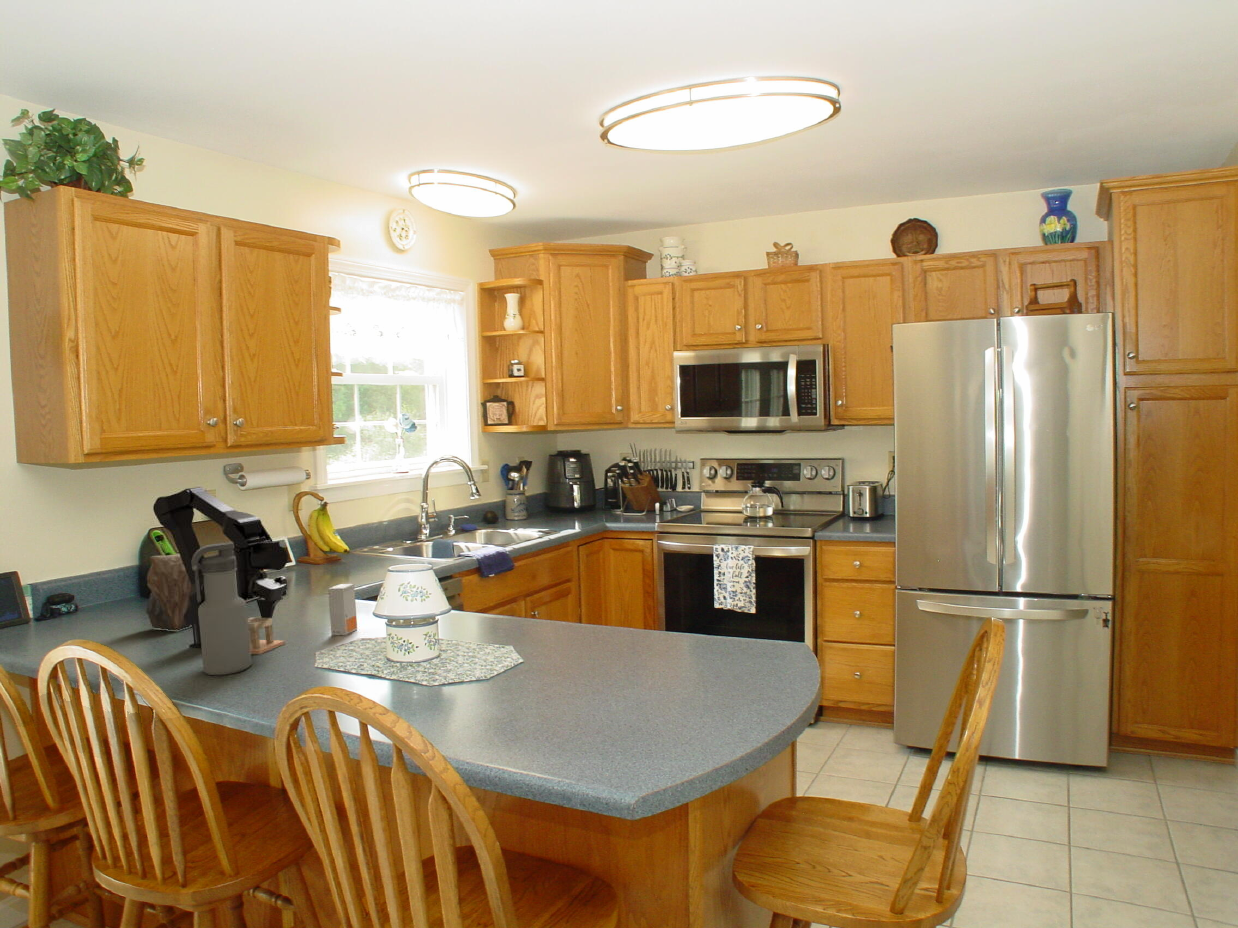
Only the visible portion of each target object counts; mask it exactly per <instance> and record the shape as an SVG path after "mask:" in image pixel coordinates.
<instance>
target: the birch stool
mask: <svg viewBox="0 0 1238 928" xmlns="http://www.w3.org/2000/svg"><path fill="white" fill-rule="evenodd" d="M272 619H273V617H272V618H261V617H250V618H248V626H249V637H250V643H252V648H253V649H258V648H260V640H261V639H260V632H259V631H260V629H264V631H265V640H266V643H273V642H274V640H275V639H274V630H273V628H274V626H273V620H272Z"/></svg>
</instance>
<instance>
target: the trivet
mask: <svg viewBox="0 0 1238 928" xmlns="http://www.w3.org/2000/svg"><path fill="white" fill-rule="evenodd" d="M259 640H260V648H258V649H253V648H252V643H250V649H251V655H261V654H263V653H266V652H268V651H271V650H273V648H274V649H276V648H278V647H280V646H283V645H286V640H278V639H277V640H275V639H274V642H273V643H266V639H259Z"/></svg>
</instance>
